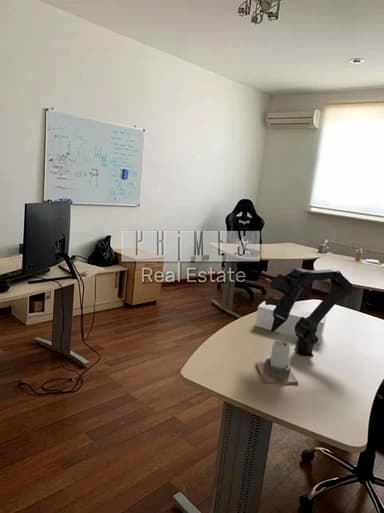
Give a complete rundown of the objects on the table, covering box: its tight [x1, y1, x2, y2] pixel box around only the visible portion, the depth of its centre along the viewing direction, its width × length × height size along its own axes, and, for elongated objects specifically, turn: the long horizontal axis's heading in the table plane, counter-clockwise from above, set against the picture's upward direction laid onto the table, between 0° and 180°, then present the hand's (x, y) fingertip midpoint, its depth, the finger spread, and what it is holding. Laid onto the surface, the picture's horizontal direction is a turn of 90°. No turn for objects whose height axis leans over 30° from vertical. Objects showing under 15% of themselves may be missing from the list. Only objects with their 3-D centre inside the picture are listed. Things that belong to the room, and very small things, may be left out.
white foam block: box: [254, 300, 327, 344], centre depth 192 cm, size 32×11×11 cm, turn 64°
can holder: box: [255, 357, 299, 386], centre depth 147 cm, size 13×13×4 cm
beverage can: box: [270, 339, 291, 369], centre depth 146 cm, size 6×6×12 cm
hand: (272, 330), depth 160 cm, fingers open, 9 cm apart
